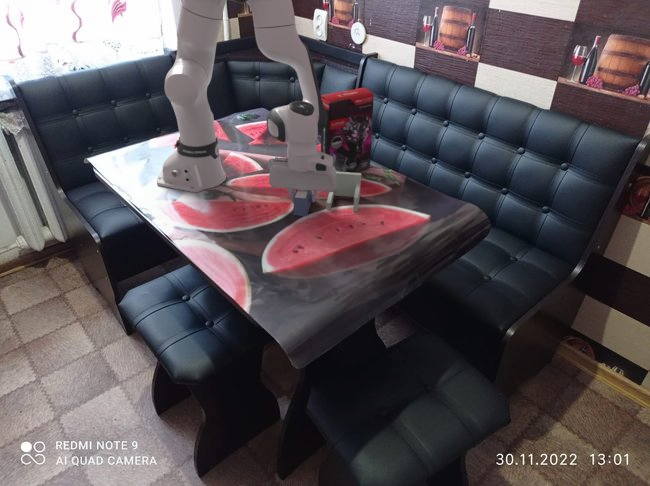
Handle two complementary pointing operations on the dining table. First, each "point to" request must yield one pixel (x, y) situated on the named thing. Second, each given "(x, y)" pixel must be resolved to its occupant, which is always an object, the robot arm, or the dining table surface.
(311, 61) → the robot arm
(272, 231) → the dining table surface
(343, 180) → the bracket
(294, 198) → the book
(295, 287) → the dining table surface
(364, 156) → the graphics card box
